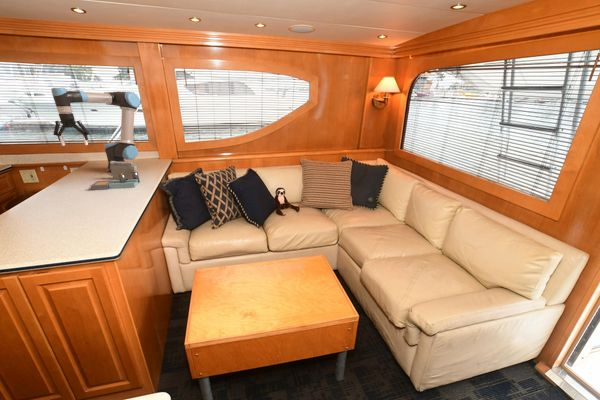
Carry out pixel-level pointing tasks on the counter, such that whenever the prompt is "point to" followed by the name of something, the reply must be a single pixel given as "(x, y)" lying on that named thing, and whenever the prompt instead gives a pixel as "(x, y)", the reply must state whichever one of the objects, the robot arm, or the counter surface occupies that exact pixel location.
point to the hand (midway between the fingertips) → (75, 145)
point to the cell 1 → (122, 178)
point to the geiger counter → (122, 169)
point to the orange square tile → (101, 183)
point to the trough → (123, 184)
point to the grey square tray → (101, 187)
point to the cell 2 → (135, 175)
